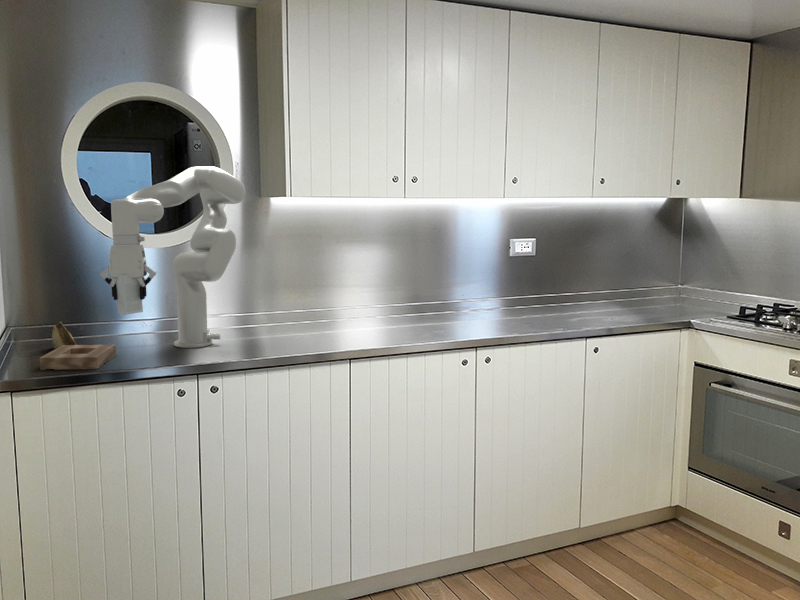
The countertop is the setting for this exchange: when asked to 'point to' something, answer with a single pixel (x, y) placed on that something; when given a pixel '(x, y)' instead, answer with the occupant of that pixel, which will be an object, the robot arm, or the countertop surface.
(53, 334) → the rock
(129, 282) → the skincare box
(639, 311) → the countertop surface
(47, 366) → the walnut holder
